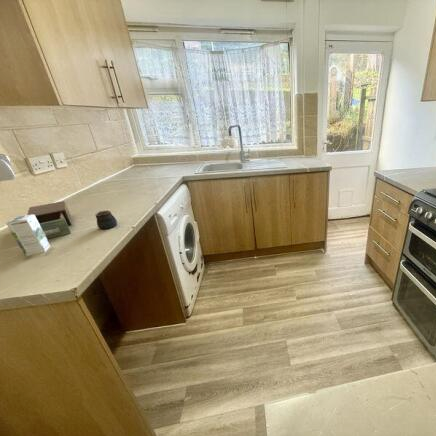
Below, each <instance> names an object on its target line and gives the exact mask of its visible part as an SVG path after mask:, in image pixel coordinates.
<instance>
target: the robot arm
mask: <svg viewBox="0 0 436 436" xmlns="http://www.w3.org/2000/svg"><path fill="white" fill-rule="evenodd" d="M10 165H11V160H10V159H9V156H7V155H6V154H4V153H0V182H5V181H12V180H15V179H16V177H17V176H16V174H15V172H14V171H13V169H12V167H11V166H10Z"/></svg>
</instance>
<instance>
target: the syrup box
mask: <svg viewBox="0 0 436 436" xmlns="http://www.w3.org/2000/svg"><path fill="white" fill-rule="evenodd" d="M6 226H7V228H8V229H9V231H10V233H11V235H12V236H13V238H14V240H15V242H16V243H17V244H18V245H17V246H18V247H19V248H20V250H21V252H22V253H23V255H24V257H29V256H34V255H38V254H43V253H46V252H47V251H48V250H49V249H50V248H51V243H50V241H49V239H47V238H46V236H45V234H44V232H43V230H42V228H41V226H40V224H39V222H38V220H37V219H36V217H35V215H34V214H33V215H27V214H24V215H19V216H15V217H13V218H12V219H10V220H9V221H7V222H6Z"/></svg>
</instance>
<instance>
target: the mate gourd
mask: <svg viewBox="0 0 436 436" xmlns="http://www.w3.org/2000/svg"><path fill="white" fill-rule="evenodd" d="M95 218H96V225H97V227H98V228H99V230H100V231H105V230H110V229H114V228H115V227H117V226H118V220H117V219H116V217H115V216H114V215H113V214H112V212H111V210H102V211H101V210H100V211H98V212H96V213H95Z"/></svg>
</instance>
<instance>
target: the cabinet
mask: <svg viewBox="0 0 436 436" xmlns="http://www.w3.org/2000/svg"><path fill="white" fill-rule="evenodd" d="M66 203H67V202H66V201H65V200H62V201H55V202H50V203H46V204H40V205H33V206H29V208H28V210H27V214H26V215H33V214H34V215H35V217H40V216H45V215H50V214H54V213H59V212H63V213H64V215H65V218H66V220H67V222H68V227H71V226H73V222H72V215H71V213H70V210H69V209H68V206H67V204H66Z"/></svg>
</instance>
